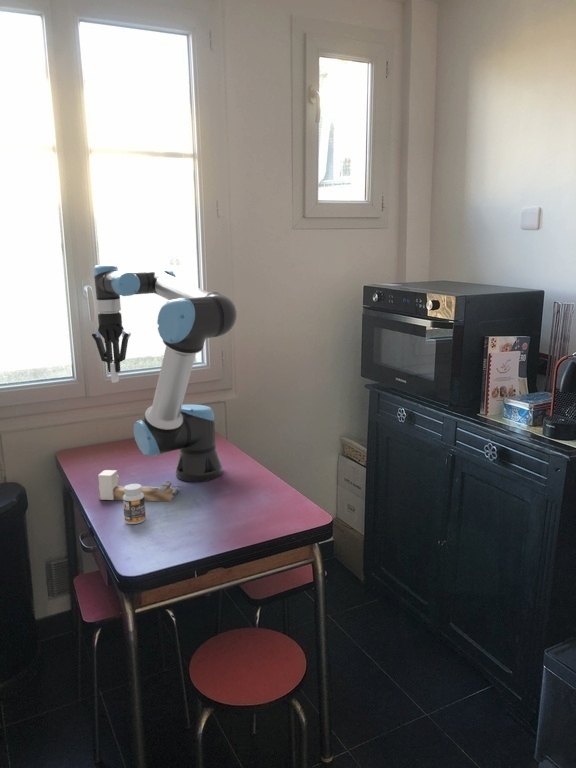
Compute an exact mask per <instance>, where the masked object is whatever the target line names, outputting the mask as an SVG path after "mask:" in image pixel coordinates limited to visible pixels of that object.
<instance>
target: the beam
mask: <svg viewBox="0 0 576 768" xmlns="http://www.w3.org/2000/svg"><path fill="white" fill-rule="evenodd" d="M158 489H159V488H142V490H141V492H142V493H143V494H144V499H145V502H147V501H148V502H171V501H172V500H173V499H174V496H173V494H172V489H166V491H165V492H158V491H157V490H158ZM113 493H114V500H117V501H123V496H124V494H125V492H124V487H115V488H114V489H113ZM98 498H99V499H98V500H100V489H98ZM114 500H113V501H114Z"/></svg>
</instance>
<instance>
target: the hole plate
mask: <svg viewBox="0 0 576 768" xmlns="http://www.w3.org/2000/svg"><path fill="white" fill-rule="evenodd" d="M125 486H126V485H118V487H125ZM141 487H142V488H160V487H161V486H144V485H143V486H142V485H141ZM170 489H172V494H173V497H175V496H176V495H177V493H178V492H179V490H180V488H179V487H178V486H177V487H176V486H170Z"/></svg>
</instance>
